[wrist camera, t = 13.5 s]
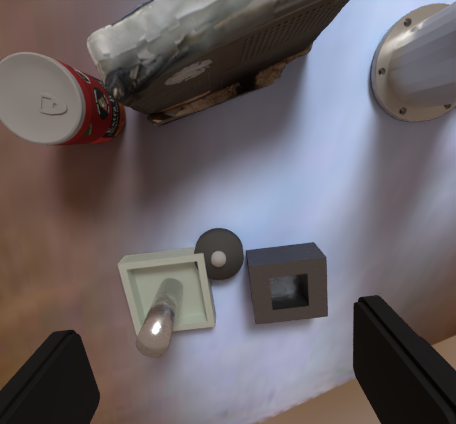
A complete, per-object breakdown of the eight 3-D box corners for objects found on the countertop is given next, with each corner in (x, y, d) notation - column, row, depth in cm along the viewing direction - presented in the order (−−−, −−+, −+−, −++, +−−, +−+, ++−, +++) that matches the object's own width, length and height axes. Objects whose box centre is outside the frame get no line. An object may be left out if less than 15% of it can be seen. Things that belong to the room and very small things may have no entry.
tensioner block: (313, 242, 38) (326, 257, 33) (315, 295, 41) (327, 316, 36) (246, 250, 39) (249, 266, 34) (252, 302, 41) (255, 324, 36)
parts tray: (204, 245, 38) (203, 253, 36) (215, 314, 42) (215, 326, 39) (124, 255, 39) (117, 264, 36) (142, 323, 42) (136, 335, 39)
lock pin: (181, 276, 39) (164, 328, 28) (185, 297, 40) (171, 355, 29) (157, 279, 39) (132, 332, 29) (162, 300, 40) (139, 358, 30)
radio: (316, -7, 30) (399, -139, 16) (329, 73, 32) (412, 22, 18) (128, 56, 32) (47, -11, 17) (153, 128, 34) (100, 121, 20)
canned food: (131, 141, 34) (89, 143, 24) (71, 144, 34) (2, 148, 24) (122, 77, 32) (71, 47, 22) (57, 81, 32) (-25, 53, 22)
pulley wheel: (239, 225, 38) (241, 233, 34) (245, 268, 39) (246, 279, 36) (191, 231, 38) (188, 239, 35) (199, 274, 40) (197, 285, 37)
